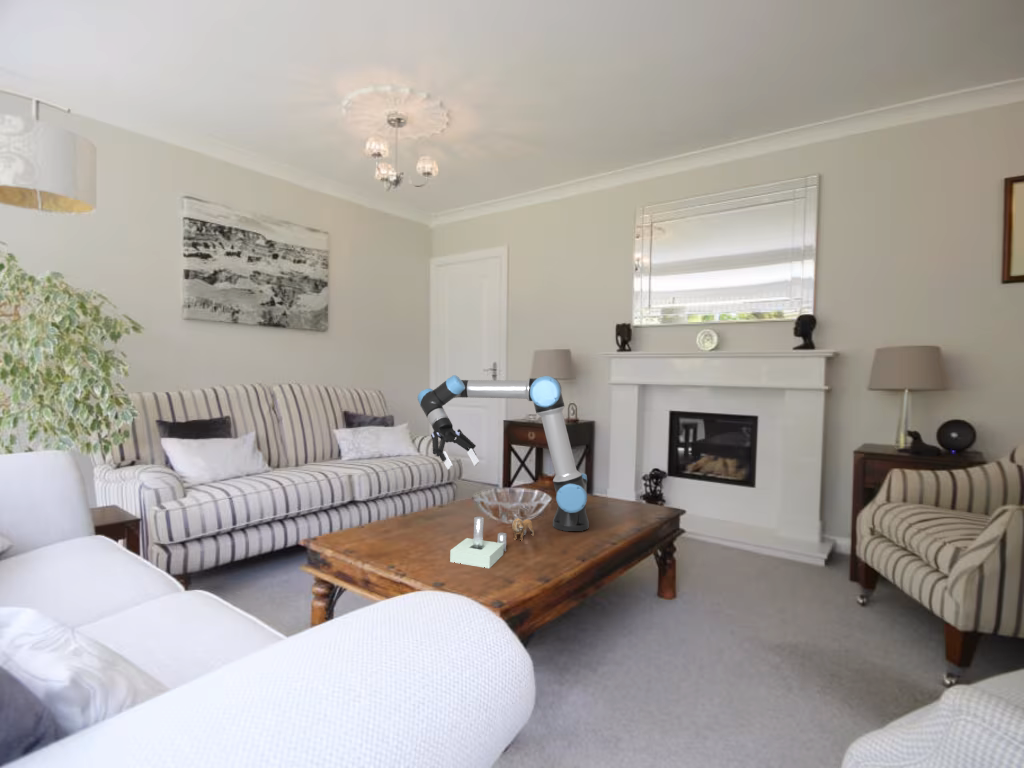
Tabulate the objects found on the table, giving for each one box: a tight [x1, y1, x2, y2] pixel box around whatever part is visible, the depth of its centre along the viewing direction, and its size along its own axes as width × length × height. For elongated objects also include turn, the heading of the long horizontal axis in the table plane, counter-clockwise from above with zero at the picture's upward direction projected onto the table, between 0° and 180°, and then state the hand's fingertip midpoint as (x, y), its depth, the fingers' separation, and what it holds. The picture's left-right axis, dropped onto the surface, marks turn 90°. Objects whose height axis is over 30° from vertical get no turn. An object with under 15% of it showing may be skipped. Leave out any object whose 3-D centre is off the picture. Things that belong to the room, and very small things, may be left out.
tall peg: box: [472, 516, 485, 550], centre depth 182 cm, size 3×3×14 cm
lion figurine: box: [511, 517, 535, 542], centre depth 206 cm, size 15×5×9 cm, turn 154°
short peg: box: [497, 532, 508, 553], centre depth 191 cm, size 3×3×6 cm
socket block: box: [449, 537, 504, 569], centre depth 182 cm, size 14×14×4 cm
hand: (463, 465), depth 203 cm, fingers open, 13 cm apart
